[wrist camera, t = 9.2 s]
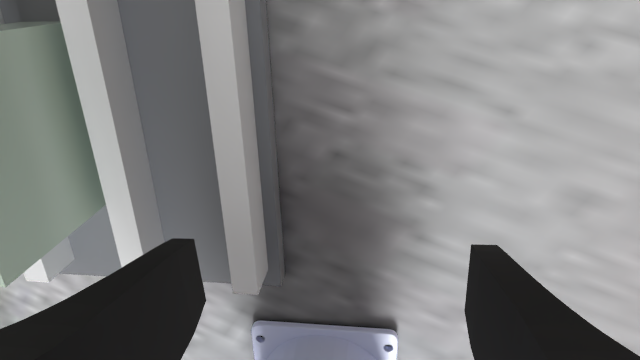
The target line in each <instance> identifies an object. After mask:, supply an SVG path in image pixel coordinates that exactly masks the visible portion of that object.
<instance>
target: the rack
mask: <svg viewBox="0 0 640 360" xmlns="http://www.w3.org/2000/svg"><path fill="white" fill-rule="evenodd" d="M39 21H61V25H62V29H63V33H64V37H65V41H66V45H67V49H68V53H69V57H70V61H71V66H72V70H73V74H74V78H75V82H76V86H77V90H78V94H79V98H80V102H81V106H82V110H83V114H84V118H85V122H86V126H87V130H88V134H89V138H90V142H91V146H92V150H93V154H94V158H95V162H96V166H97V170H98V174H99V178H100V182H101V186H102V190H103V194H104V198H105V202H106V205H105V206H104V207H103V208H101V209H100V210H99V211H98V212H96V213H95V214H94V215H93V216H92V217H90V218H89V219H88V220H87V221H86V222H84V223H83V224H82V225H81V226H79V227H78V228H77V229H76V230H75V231H73V232H72V233H71V234H70V235H69V236H67V237H66V238H65V239H64V240H62V241H61V242H60V243H59V244H58V245H56V246H55V247H54V248H53V249H52V250H50V251H49V252H48V253H47V254H45V255H44V256H43V257H42V258H41V259H39V260H38V261H37V262H36V263H35V264H33V265H32V266H31V267H30V268H28V269H27V270H26V271H25V272H24V276H25V279H26V281H34V282H50V281H51V280H52V279H53V278H54V277H55V276H57V275H58V274H76V275H94V276H109V275H110V274H112V273H114V272H115V271H117V270H119V269H120V268H122V267H124V266H125V265H127V264H128V263H130V262H132V261H133V260H135V259H137V258H138V257H140V256H142V255H143V254H145V253H147V252H148V251H150V250H152V249H154V248H155V247H157V246H159V245H161V244H162V243H164V242H166V241H168V240H170V239H172V238H183V239H194V241H195V246H196V251H197V256H198V261H199V267H200V272H201V277H202V282H217V283H232V291H233V293H235V294H252V295H258V294H259V292H260V289H261V286H262V285H270V286H281V285H282V282H283V279H284V276H285V266H284V251H283V237H282V222H281V208H280V193H279V179H278V165H277V150H276V136H275V121H274V107H273V92H272V78H271V63H270V49H269V34H268V20H267V5H266V0H0V24H7V23H15V22H39Z"/></svg>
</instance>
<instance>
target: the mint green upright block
mask: <svg viewBox="0 0 640 360" xmlns="http://www.w3.org/2000/svg"><path fill="white" fill-rule="evenodd" d="M105 205H106V202H105V198H104V194H103V190H102V186H101V182H100V178H99V174H98V170H97V166H96V162H95V158H94V154H93V150H92V146H91V142H90V138H89V134H88V130H87V126H86V122H85V118H84V114H83V110H82V106H81V102H80V98H79V94H78V90H77V86H76V82H75V78H74V74H73V70H72V66H71V61H70V57H69V53H68V49H67V45H66V41H65V37H64V33H63V29H62V25H61V21H39V22H15V23H7V24H0V287H7V286H8V285H9V284H10V283H11V282H13V281H14V280H15V279H16V278H18V277H19V276H20V275H21V274H22V273H24V272H25V271H26V270H27V269H28V268H30V267H31V266H32V265H33V264H35V263H36V262H37V261H38V260H39V259H41V258H42V257H43V256H44V255H45V254H47V253H48V252H49V251H50V250H52V249H53V248H54V247H55V246H56V245H58V244H59V243H60V242H61V241H62V240H64V239H65V238H66V237H67V236H69V235H70V234H71V233H72V232H73V231H75V230H76V229H77V228H78V227H79V226H81V225H82V224H83V223H84V222H86V221H87V220H88V219H89V218H90V217H92V216H93V215H94V214H95V213H96V212H98V211H99V210H100V209H101V208H103V207H104V206H105Z"/></svg>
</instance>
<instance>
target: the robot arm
mask: <svg viewBox="0 0 640 360" xmlns="http://www.w3.org/2000/svg"><path fill="white" fill-rule="evenodd" d="M205 302H206V298H205V293H204V287H203V282H202V277H201V272H200V267H199V261H198V256H197V251H196V246H195V241H194V239H183V238H172V239H170V240H168V241H166V242H164V243H162V244H161V245H159V246H157V247H155V248H154V249H152V250H150V251H148V252H147V253H145V254H143V255H142V256H140V257H138V258H137V259H135V260H133V261H132V262H130V263H128V264H127V265H125V266H124V267H122V268H120V269H119V270H117V271H115V272H114V273H112V274H110V275H109V276H107V277H105V278H103V279H102V280H100V281H98V282H96V283H94V284H93V285H91V286H89V287H87V288H85V289H84V290H82V291H80V292H78V293H76V294H75V295H73V296H71V297H69V298H67V299H65V300H63V301H61V302H59V303H57V304H55V305H53V306H51V307H49V308H47V309H45V310H43V311H41V312H39V313H37V314H34V315H32V316H30V317H28V318H26V319H24V320H21V321H19V322H17V323H14V324H12V325H9V326H7V327H4V328H2V329H0V360H181V358H182V356H183V354H184V352H185V350H186V348H187V346H188V345H189V343H190V341H191V339H192V337H193V335H194V332H195V330H196V327H197V324H198V322H199V319H200V316H201V313H202V310H203V307H204V305H205ZM465 316H466V322H467V328H468V334H469V339H470V345H471V349H472V353H473V356H474V360H640V356H638V355H636V354H635V353H633V352H632V351H630V350H629V349H627V348H626V347H624V346H623V345H621V344H619V343H618V342H616V341H615V340H613V339H612V338H610V337H609V336H607V335H606V334H604V333H603V332H601V331H600V330H599V329H597V328H596V327H594V326H593V325H591V324H590V323H589V322H587V321H586V320H585V319H583V318H582V317H581V316H579V315H578V314H577V313H576V312H574V311H573V310H572V309H570V308H569V307H568V306H566V305H565V304H564V303H563V302H561V301H560V300H559V299H558V298H556V297H555V296H554V295H553V294H552V293H550V292H549V291H548V290H547V289H546V288H545V287H543V286H542V285H541V284H540V283H539V282H538V281H536V280H535V279H534V278H533V277H532V276H531V275H530V274H529V273H527V272H526V271H525V270H524V269H523V268H522V267H521V266H520V265H519V264H518V263H516V262H515V261H514V260H513V259H512V258H511V257H510V256H509V255H508V254H507V253H506V252H504V251H503V250H502V249H501V248H500V247H499V246H498V245H471V253H470V263H469V273H468V283H467V293H466V303H465ZM251 334H252V343H253V352H254V360H397V353H398V334H397V333H396V332H395V331H394V330H391V329H380V328H365V327H350V326H335V325H320V324H305V323H290V322H275V321H256V322H254V324H253V325H252V328H251ZM259 335H261V336H263V338H262V337H260V336H259ZM388 344H389V345H392V346H385V345H388Z"/></svg>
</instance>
